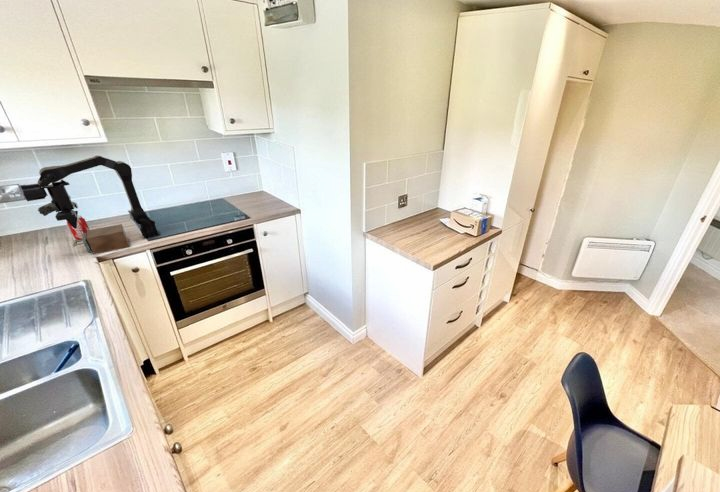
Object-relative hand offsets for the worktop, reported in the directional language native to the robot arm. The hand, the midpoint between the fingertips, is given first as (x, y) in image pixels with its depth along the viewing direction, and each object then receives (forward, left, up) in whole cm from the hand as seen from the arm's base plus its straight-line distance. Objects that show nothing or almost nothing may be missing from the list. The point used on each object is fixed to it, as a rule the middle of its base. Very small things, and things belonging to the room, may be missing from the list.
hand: (75, 227), depth 151 cm
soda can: (+1, -19, -13) cm, 23 cm away
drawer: (-5, 0, -12) cm, 13 cm away
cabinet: (-10, 0, -13) cm, 16 cm away
